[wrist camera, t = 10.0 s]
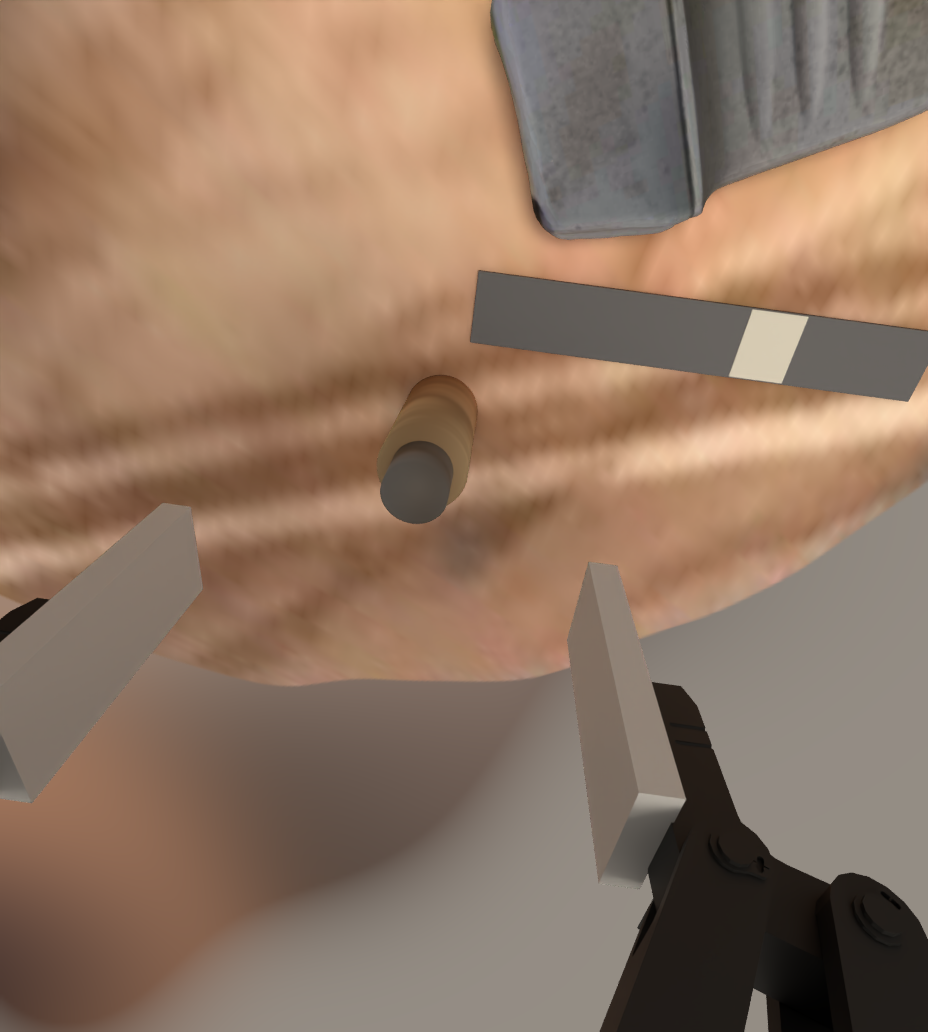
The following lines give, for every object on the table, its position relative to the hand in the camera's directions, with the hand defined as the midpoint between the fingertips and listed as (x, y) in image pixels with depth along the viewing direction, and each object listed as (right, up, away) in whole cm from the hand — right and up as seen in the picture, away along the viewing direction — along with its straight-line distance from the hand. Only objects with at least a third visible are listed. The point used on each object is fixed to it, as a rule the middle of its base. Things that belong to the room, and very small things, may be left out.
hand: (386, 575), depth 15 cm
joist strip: (+12, +10, +10) cm, 18 cm away
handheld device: (+13, +19, +5) cm, 24 cm away
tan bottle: (+1, +7, +12) cm, 14 cm away
